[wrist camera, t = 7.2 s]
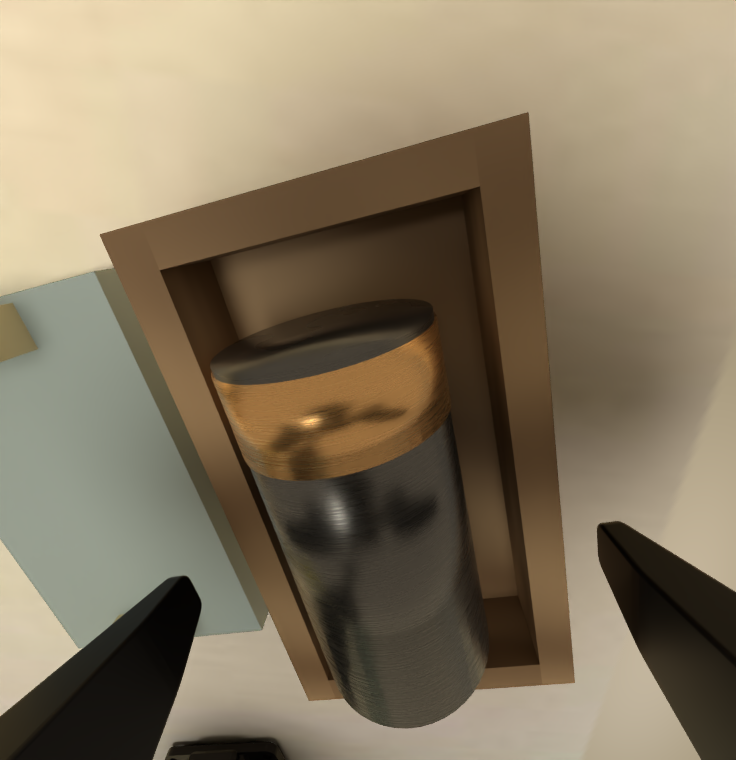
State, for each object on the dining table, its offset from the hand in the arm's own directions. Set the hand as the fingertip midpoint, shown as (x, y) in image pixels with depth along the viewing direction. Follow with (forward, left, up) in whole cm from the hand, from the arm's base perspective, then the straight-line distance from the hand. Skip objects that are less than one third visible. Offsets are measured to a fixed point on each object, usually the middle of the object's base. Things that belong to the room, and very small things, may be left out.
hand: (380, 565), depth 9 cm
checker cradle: (0, +12, -6) cm, 13 cm away
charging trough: (0, 0, -6) cm, 6 cm away
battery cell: (0, 0, -5) cm, 5 cm away
